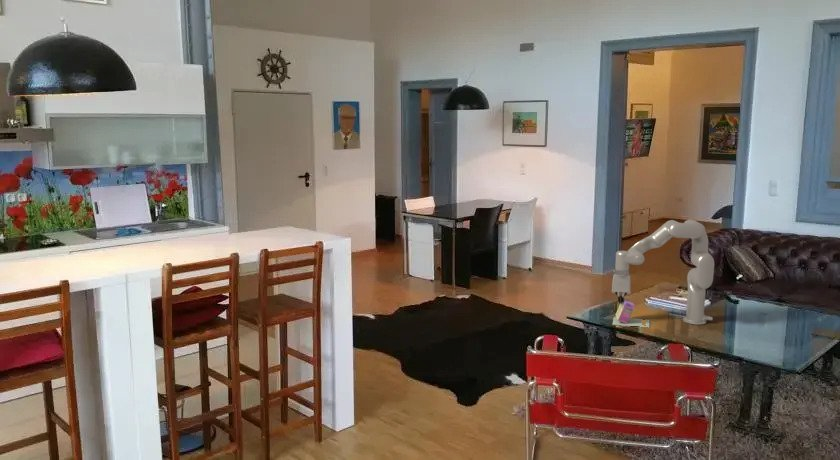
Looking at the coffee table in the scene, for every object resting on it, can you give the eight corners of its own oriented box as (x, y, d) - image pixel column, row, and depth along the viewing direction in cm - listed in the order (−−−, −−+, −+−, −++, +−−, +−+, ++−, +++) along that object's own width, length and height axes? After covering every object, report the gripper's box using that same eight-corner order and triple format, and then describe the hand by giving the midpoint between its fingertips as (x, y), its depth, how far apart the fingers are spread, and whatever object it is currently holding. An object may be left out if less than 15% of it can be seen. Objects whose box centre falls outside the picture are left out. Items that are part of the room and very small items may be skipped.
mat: (649, 320, 393) (649, 319, 393) (649, 328, 380) (649, 327, 380) (613, 317, 399) (613, 316, 399) (612, 324, 386) (612, 323, 386)
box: (627, 324, 386) (635, 305, 383) (617, 320, 386) (625, 302, 383) (624, 318, 396) (632, 300, 393) (615, 315, 396) (622, 297, 393)
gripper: (608, 273, 385) (606, 303, 388) (635, 274, 380) (633, 305, 383) (608, 269, 392) (607, 300, 395) (635, 271, 387) (634, 302, 390)
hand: (620, 302), depth 389 cm, fingers closed
